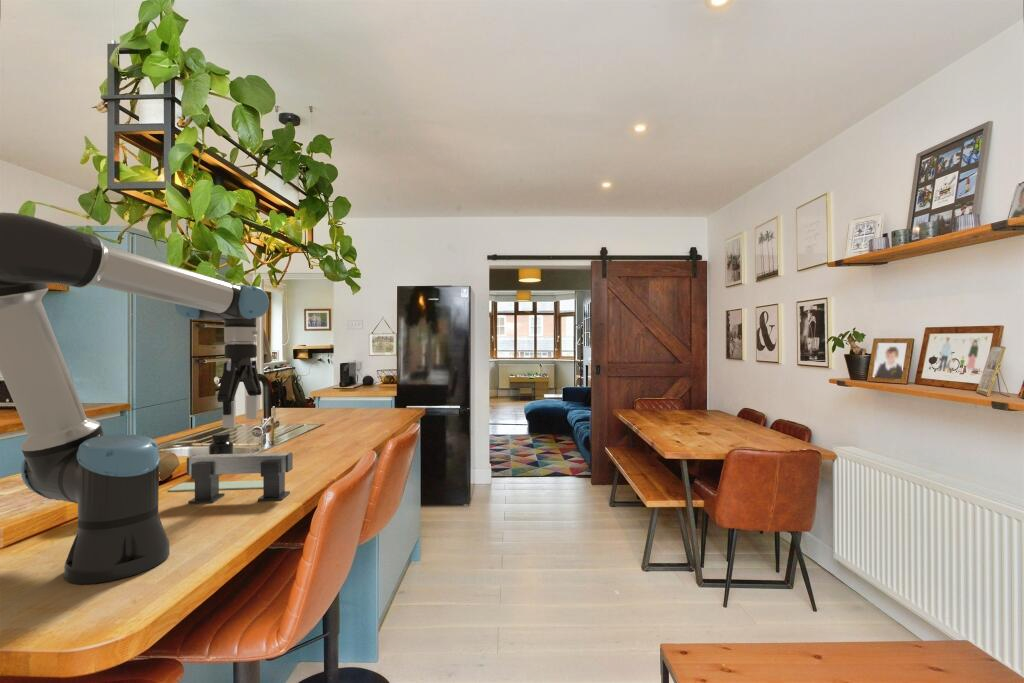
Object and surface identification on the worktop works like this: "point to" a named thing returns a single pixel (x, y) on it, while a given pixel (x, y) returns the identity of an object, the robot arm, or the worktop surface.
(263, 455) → the rail
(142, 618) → the worktop surface
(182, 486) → the mat
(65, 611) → the worktop surface
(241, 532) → the worktop surface
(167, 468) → the bread roll
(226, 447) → the supplement bottle
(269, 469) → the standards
